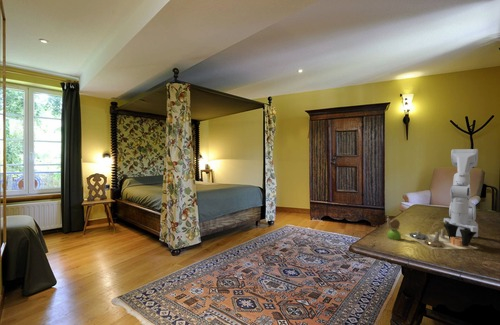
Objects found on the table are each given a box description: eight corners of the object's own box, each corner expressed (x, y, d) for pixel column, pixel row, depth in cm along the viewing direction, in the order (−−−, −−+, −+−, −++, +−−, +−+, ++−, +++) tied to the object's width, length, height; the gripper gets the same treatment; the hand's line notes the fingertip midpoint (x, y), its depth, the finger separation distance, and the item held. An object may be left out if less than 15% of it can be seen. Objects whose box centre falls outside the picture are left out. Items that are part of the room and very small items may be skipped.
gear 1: (420, 234, 118) (420, 232, 118) (431, 239, 111) (431, 237, 111) (406, 234, 118) (406, 232, 118) (416, 239, 111) (416, 237, 111)
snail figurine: (382, 239, 115) (383, 214, 115) (395, 238, 116) (395, 214, 115) (390, 243, 110) (390, 217, 109) (403, 242, 110) (404, 217, 110)
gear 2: (435, 241, 109) (435, 238, 109) (448, 247, 102) (449, 244, 102) (420, 241, 108) (420, 238, 108) (432, 247, 101) (432, 244, 101)
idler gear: (459, 241, 109) (459, 236, 109) (471, 246, 103) (471, 241, 103) (446, 241, 109) (446, 236, 109) (458, 246, 103) (458, 241, 103)
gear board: (443, 236, 119) (443, 226, 119) (478, 251, 101) (478, 239, 101) (403, 236, 118) (404, 226, 118) (432, 251, 100) (432, 239, 100)
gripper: (437, 208, 113) (436, 237, 113) (466, 216, 98) (465, 249, 98) (452, 208, 113) (451, 237, 113) (482, 216, 98) (481, 249, 99)
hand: (458, 242), depth 106 cm, fingers closed on idler gear, 6 cm apart
